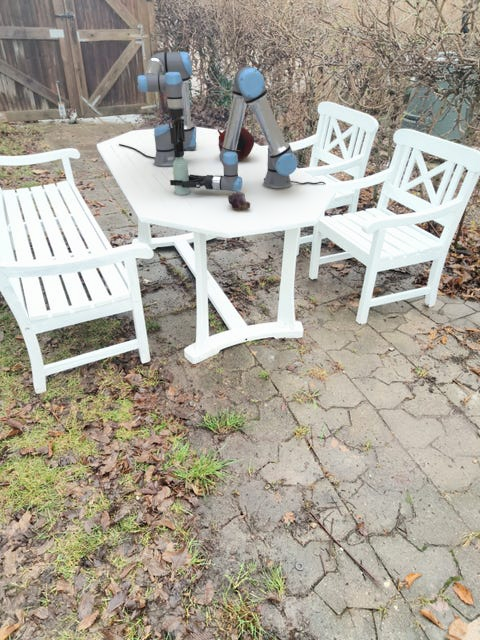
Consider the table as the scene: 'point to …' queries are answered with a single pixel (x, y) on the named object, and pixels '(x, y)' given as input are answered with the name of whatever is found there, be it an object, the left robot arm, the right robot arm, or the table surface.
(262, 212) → the table surface
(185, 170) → the bottle
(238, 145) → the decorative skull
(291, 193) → the table surface
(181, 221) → the table surface
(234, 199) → the rock
